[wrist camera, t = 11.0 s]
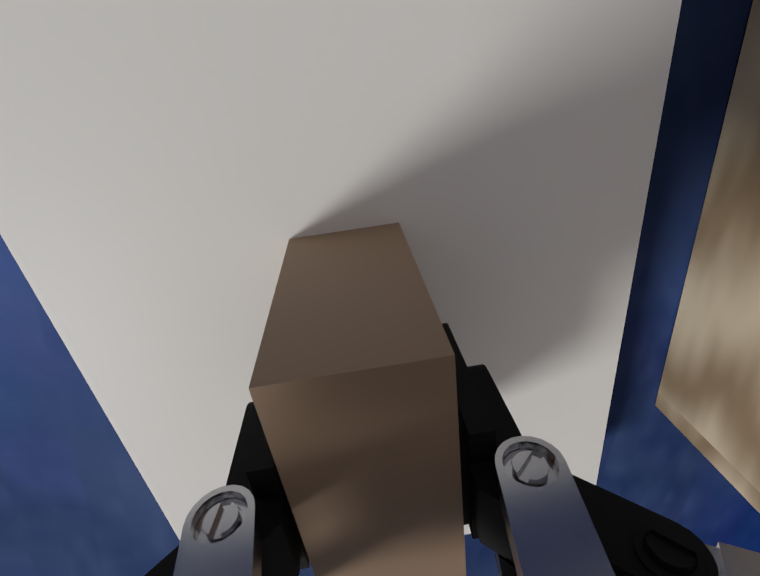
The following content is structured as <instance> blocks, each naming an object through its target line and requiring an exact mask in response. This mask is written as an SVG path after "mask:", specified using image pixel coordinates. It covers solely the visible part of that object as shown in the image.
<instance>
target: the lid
mask: <svg viewBox="0 0 760 576" xmlns="http://www.w3.org/2000/svg"><path fill="white" fill-rule="evenodd" d="M681 3H682V0H0V235H1V236H2V238H3V240H4V241H5V243H6V245H7V247H8V248H9V250H10V252H11V253H12V255H13V257H14V259H15V260H16V262H17V264H18V265H19V267H20V269H21V270H22V272H23V274H24V276H25V277H26V279H27V281H28V282H29V284H30V286H31V288H32V289H33V291H34V293H35V294H36V296H37V298H38V299H39V301H40V303H41V305H42V306H43V308H44V310H45V311H46V313H47V315H48V317H49V318H50V320H51V322H52V323H53V325H54V327H55V328H56V330H57V332H58V334H59V335H60V337H61V339H62V340H63V342H64V344H65V345H66V347H67V349H68V351H69V352H70V354H71V356H72V357H73V359H74V361H75V363H76V364H77V366H78V368H79V369H80V371H81V373H82V374H83V376H84V378H85V380H86V381H87V383H88V385H89V386H90V388H91V390H92V392H93V393H94V395H95V397H96V398H97V400H98V402H99V403H100V405H101V407H102V409H103V410H104V412H105V414H106V415H107V417H108V419H109V421H110V422H111V424H112V426H113V427H114V429H115V431H116V432H117V434H118V436H119V438H120V439H121V441H122V443H123V444H124V446H125V448H126V450H127V451H128V453H129V455H130V456H131V458H132V460H133V461H134V463H135V465H136V467H137V468H138V470H139V472H140V473H141V475H142V477H143V479H144V480H145V482H146V484H147V485H148V487H149V489H150V490H151V492H152V494H153V496H154V497H155V499H156V501H157V502H158V504H159V506H160V508H161V509H162V511H163V513H164V514H165V516H166V518H167V519H168V521H169V523H170V525H171V526H172V528H173V530H174V531H175V533H176V535H177V537H178V538H179V540H180V539H181V534H182V529H183V525H184V522H185V519H186V517H187V515H188V513H189V512H190V510H191V509H192V507H193V506H194V505H195V504H196V503H197V502H198V501H199V500H200V499H201V498H202V497H203V496H205V495H206V494H208V493H209V492H211V491H212V490H215V489H217V488H220V487H222V486H226V483H227V479H228V475H229V471H230V467H231V464H232V460H233V456H234V452H235V448H236V444H237V441H238V437H239V433H240V429H241V425H242V421H243V418H244V414H245V410H246V407H247V404H248V403H249V402H253V403H254V405H255V408H256V411H257V414H258V417H259V419H260V422H261V425H262V428H263V431H264V434H265V436H266V439H267V442H268V445H269V448H270V450H271V453H272V456H273V459H274V462H275V464H276V467H277V470H278V473H279V476H280V478H281V481H282V484H283V487H284V490H285V493H286V495H287V498H288V501H289V504H290V507H291V509H292V512H293V515H294V518H295V521H296V523H297V526H298V529H299V532H300V535H301V538H302V540H303V543H304V546H305V549H306V552H307V554H308V557H309V561H310V563H311V566H312V568H313V571H314V574H315V576H466V561H465V541H464V535H465V534H471V531H470V527H469V524H467V525H464V522H463V502H462V483H461V463H460V444H459V424H458V405H457V385H456V366H455V354H454V352H453V349H452V347H451V344H450V342H449V340H448V337H447V335H446V333H445V330H444V328H443V326H442V323H448V325H449V327H450V329H451V332H452V334H453V336H454V338H455V340H456V343H457V345H458V347H459V349H460V351H461V354H462V356H463V358H464V360H465V363H466V365H467V367H468V366H475V365H481V364H484V365H485V366H486V367H487V369H488V371H489V373H490V375H491V377H492V379H493V381H494V382H495V384H496V386H497V388H498V390H499V392H500V394H501V396H502V398H503V400H504V402H505V404H506V406H507V408H508V410H509V411H510V413H511V415H512V417H513V419H514V421H515V423H516V425H517V427H518V429H519V431H520V433H521V435H522V436H532V437H536V438H539V439H543V440H544V441H546V442H548V443H550V444H552V445H553V446H554V447H555V448H556V449H558V450H559V451H560V452H561V454H562V455H563V457H564V459H565V460H566V462H567V464H568V467H569V469H570V471H571V474H572V475H575V476H577V477H579V478H581V479H583V480H585V481H587V482H590V483H592V484H594V485H596V482H597V476H598V471H599V465H600V459H601V454H602V448H603V442H604V437H605V431H606V426H607V420H608V414H609V409H610V403H611V397H612V392H613V386H614V380H615V375H616V369H617V364H618V358H619V352H620V347H621V341H622V335H623V330H624V324H625V318H626V313H627V307H628V301H629V296H630V290H631V285H632V279H633V273H634V268H635V262H636V256H637V251H638V245H639V239H640V234H641V228H642V223H643V217H644V211H645V206H646V200H647V194H648V189H649V183H650V177H651V172H652V166H653V161H654V155H655V149H656V144H657V138H658V132H659V127H660V121H661V115H662V110H663V104H664V99H665V93H666V87H667V82H668V76H669V70H670V65H671V59H672V53H673V48H674V42H675V36H676V31H677V25H678V20H679V14H680V8H681Z"/></svg>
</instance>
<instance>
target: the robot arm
mask: <svg viewBox="0 0 760 576" xmlns="http://www.w3.org/2000/svg"><path fill="white" fill-rule="evenodd" d="M442 326H443V328H444V330H445V333H446V335H447V337H448V340H449V342H450V344H451V347H452V349H453V352H454V354H455V366H456V385H457V405H458V424H459V444H460V463H461V483H462V502H463V522H464V525H467V524H469V527H470V531H471V534H472V537H473V539H475V538H479V540H480V542H481V543H482V544H484V545H486V546H487V547H489V548H490V549H492V550H493V551H495V558H496V563H497V568H498V572H499V576H760V553H757V552H753V551H750V550H746V549H743V548H739V547H735V546H732V545H728V544H725V543H721V542H718V544H717V546H716V547H714V546H711V545H707V544H704V543H703V542H702V541H701V540H700V539H699V538H698V537H697V536H696V535H694V534H693V533H692V532H691V531H690V530H688V529H686V528H685V527H683V526H681V525H680V524H678V523H676V522H674V521H672V520H670V519H668V518H665V517H663V516H661V515H659V514H657V513H655V512H652V511H650V510H648V509H646V508H644V507H642V506H639V505H637V504H635V503H633V502H631V501H629V500H626V499H624V498H622V497H620V496H618V495H616V494H613V493H611V492H609V491H607V490H605V489H603V488H600V487H598V486H596V485H594V484H592V483H590V482H587V481H585V480H583V479H581V478H579V477H577V476H575V475H572V474H571V471H570V469H569V467H568V464H567V462H566V460H565V459H564V457H563V455H562V454H561V452H560V451H559V450H558V449H556V448H555V447H554V446H553V445H552V444H550V443H548V442H546V441H544V440H543V439H539V438H536V437H532V436H522V435H521V433H520V431H519V429H518V427H517V425H516V423H515V421H514V419H513V417H512V415H511V413H510V411H509V410H508V408H507V406H506V404H505V402H504V400H503V398H502V396H501V394H500V392H499V390H498V388H497V386H496V384H495V382H494V381H493V379H492V377H491V375H490V373H489V371H488V369H487V367H486V366H485V365H484V364H481V365H475V366H468V367H467V365H466V363H465V360H464V358H463V356H462V354H461V351H460V349H459V347H458V345H457V343H456V340H455V338H454V336H453V334H452V332H451V329H450V327H449V325H448V323H442ZM304 568H309V557H308V554H307V552H306V549H305V546H304V543H303V540H302V538H301V535H300V532H299V529H298V526H297V523H296V521H295V518H294V515H293V512H292V509H291V507H290V504H289V501H288V498H287V495H286V493H285V490H284V487H283V484H282V481H281V478H280V476H279V473H278V470H277V467H276V464H275V462H274V459H273V456H272V453H271V450H270V448H269V445H268V442H267V439H266V436H265V434H264V431H263V428H262V425H261V422H260V419H259V417H258V414H257V411H256V408H255V405H254V403H253V402H249V403H248V404H247V407H246V410H245V414H244V418H243V421H242V425H241V429H240V433H239V437H238V441H237V444H236V448H235V452H234V456H233V460H232V464H231V467H230V471H229V475H228V479H227V483H226V486H222V487H220V488H217V489H215V490H212V491H211V492H209V493H208V494H206V495H205V496H203V497H202V498H201V499H200V500H199V501H198V502H197V503H196V504H195V505H194V506H193V507H192V509H191V510H190V512H189V513H188V515H187V517H186V519H185V522H184V525H183V529H182V534H181V539H180V544H179V546H178V547H176V548H175V549H174V550H173V551H172V552H171V553H170V554H168V555H167V556H166V557H165V558H164V559H163V560H162V561H161V562H159V563H158V564H157V565H156V566H155V567H154V568H153V569H151V570H150V571H149V572H148V573H147V574H146V575H145V576H298V575H299V571H300V569H304Z"/></svg>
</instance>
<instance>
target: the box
mask: <svg viewBox="0 0 760 576" xmlns="http://www.w3.org/2000/svg"><path fill="white" fill-rule="evenodd" d="M655 405H656V406H657V407H658V408H659V409H660V411H661V412H662V413H663V414H664V415H665V416H666V417H667V418H668V419H669V420H670V421H671V422H672V423H673V424H674V425H675V426H676V427H677V428H678V429H679V430H680V431H681V432H682V433H683V434H684V435H685V436H686V437H687V439H688V440H689V441H690V442H691V443H692V444H693V445H694V446H695V447H696V448H697V449H698V450H699V451H700V452H701V453H702V454H703V455H704V456H705V457H706V458H707V459H708V460H709V461H710V462H711V463H712V464H713V465H714V467H715V468H716V469H717V470H718V471H719V472H720V473H721V474H722V475H723V476H724V477H725V478H726V479H727V480H728V481H729V482H730V483H731V484H732V485H733V486H734V487H735V488H736V489H737V490H738V491H739V492H740V493H741V495H742V496H743V497H744V498H745V499H746V500H747V501H748V502H749V503H750V504H751V505H752V506H753V507H754V508H755V509H756V510H757V511H758V512H759V513H760V0H753V3H752V7H751V11H750V15H749V19H748V24H747V28H746V32H745V36H744V40H743V44H742V48H741V52H740V57H739V61H738V65H737V69H736V73H735V77H734V81H733V86H732V90H731V94H730V98H729V102H728V106H727V110H726V114H725V119H724V123H723V127H722V131H721V135H720V139H719V143H718V148H717V152H716V156H715V160H714V164H713V168H712V172H711V176H710V181H709V185H708V189H707V193H706V197H705V201H704V205H703V210H702V214H701V218H700V222H699V226H698V230H697V234H696V238H695V243H694V247H693V251H692V255H691V259H690V263H689V267H688V272H687V276H686V280H685V284H684V288H683V292H682V296H681V300H680V305H679V309H678V313H677V317H676V321H675V325H674V329H673V334H672V338H671V342H670V346H669V350H668V354H667V358H666V362H665V367H664V371H663V375H662V379H661V383H660V387H659V391H658V396H657V400H656V404H655Z"/></svg>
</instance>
